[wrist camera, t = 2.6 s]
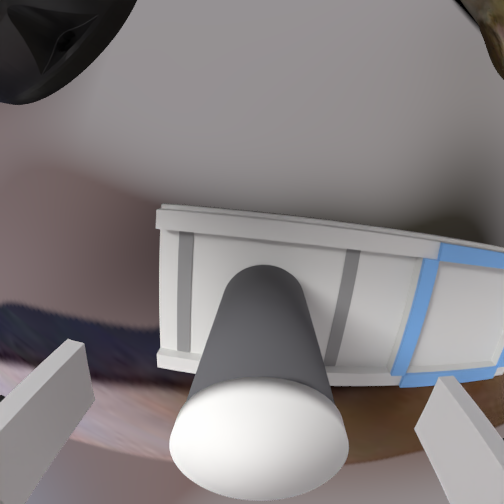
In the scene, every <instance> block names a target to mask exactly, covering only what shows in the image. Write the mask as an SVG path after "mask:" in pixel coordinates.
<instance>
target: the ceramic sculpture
mask: <svg viewBox="0 0 504 504" xmlns="http://www.w3.org/2000/svg"><path fill="white" fill-rule="evenodd" d="M460 1H461V2H462V3H463V5H464V6H465V7H466V9H467V10H468V11H469V13H470V14H471V15H472V17H473V18H474V19H475V21H476V22H477V23H478V25H479V27H480V31H481V34H482V36H483V39H484V41H485V44H486V48H487V50H488V53H489V56H490V59H491V61H492V63H493V65H494V67H495V69H496V70H497V72H498V73H499V75H500V76H501V77H502V78H503V79H504V0H460Z"/></svg>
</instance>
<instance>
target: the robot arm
mask: <svg viewBox="0 0 504 504" xmlns="http://www.w3.org/2000/svg"><path fill="white" fill-rule="evenodd" d="M136 1H137V0H0V102H2V103H7V104H13V105H23V104H29V103H33V102H36V101H38V100H41V99H43V98H46V97H47V96H49V95H51V94H53V93H55V92H56V91H58V90H59V89H61V88H63V87H64V86H65V85H67V84H68V83H69V82H71V81H72V80H73V79H74V78H76V77H77V76H78V75H79V74H80V73H82V72H83V71H84V70H85V69H86V68H87V67H88V66H89V65H90V64H91V63H92V62H93V61H94V60H95V59H96V58H97V57H98V56H99V55H100V54H101V53H102V52H103V51H104V49H105V48H106V47H107V46H108V45H109V43H110V42H111V41H112V40H113V38H114V37H115V36H116V34H117V33H118V32H119V30H120V29H121V27H122V26H123V24H124V23H125V21H126V20H127V18H128V16H129V15H130V13H131V11H132V9H133V7H134V5H135V3H136ZM94 401H95V397H94V393H93V388H92V383H91V378H90V373H89V368H88V363H87V357H86V351H85V345H84V343H81V342H77V341H73V340H70V339H67V340H66V341H65V342H64V343H63V344H62V345H61V346H60V347H58V348H57V349H56V350H55V351H54V352H53V353H52V354H51V355H50V356H49V357H47V358H46V359H45V360H44V361H43V362H42V363H41V364H40V365H39V366H38V367H37V368H36V369H34V370H33V371H32V372H31V373H30V374H29V375H28V376H27V377H26V378H25V379H24V380H23V381H22V382H21V383H20V384H19V385H18V386H17V387H16V388H14V389H13V390H12V391H11V392H10V393H9V394H8V395H7V396H6V397H4V396H2V395H0V504H25V503H26V502H27V500H28V499H29V497H30V495H31V494H32V492H33V491H34V489H35V488H36V486H37V485H38V483H39V482H40V480H41V478H42V477H43V475H44V474H45V472H46V471H47V469H48V468H49V466H50V465H51V463H52V462H53V460H54V459H55V457H56V456H57V454H58V453H59V451H60V450H61V449H62V447H63V446H64V444H65V443H66V441H67V440H68V438H69V437H70V435H71V434H72V432H73V431H74V430H75V428H76V427H77V425H78V424H79V422H80V421H81V420H82V418H83V417H84V415H85V414H86V412H87V411H88V410H89V408H90V407H91V405H92V404H93V402H94ZM414 430H415V432H416V434H417V436H418V438H419V440H420V442H421V444H422V446H423V448H424V450H425V452H426V454H427V456H428V458H429V460H430V462H431V464H432V467H433V469H434V471H435V473H436V475H437V477H438V479H439V481H440V483H441V486H442V488H443V490H444V492H445V495H446V497H447V499H448V501H449V504H504V438H503V439H502V438H501V436H500V435H499V433H498V432H497V431H496V429H495V428H494V427H493V425H492V424H491V423H490V421H489V420H488V419H487V417H486V416H485V415H484V413H483V412H482V411H481V410H480V408H479V407H478V406H477V404H476V403H475V402H474V401H473V399H472V398H471V397H470V395H469V394H468V393H467V392H466V390H465V389H464V388H463V387H462V386H461V384H460V383H459V382H458V381H457V379H456V378H455V377H454V376H443V377H438V379H437V382H436V384H435V386H434V389H433V391H432V393H431V395H430V398H429V400H428V402H427V404H426V406H425V408H424V410H423V412H422V414H421V416H420V418H419V420H418V422H417V424H416V426H415V428H414Z"/></svg>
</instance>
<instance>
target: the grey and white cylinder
mask: <svg viewBox="0 0 504 504" xmlns="http://www.w3.org/2000/svg"><path fill="white" fill-rule="evenodd" d="M348 451H349V443H348V438H347V434H346V431H345V427H344V423H343V420H342V416H341V414H340V412H339V410H338V408H337V407H336V406H335V403H334V399H333V395H332V391H331V388H330V384H329V380H328V376H327V373H326V369H325V365H324V362H323V358H322V355H321V351H320V347H319V344H318V340H317V337H316V333H315V330H314V326H313V323H312V319H311V316H310V312H309V309H308V306H307V302H306V299H305V296H304V292H303V289H302V287H301V285H300V283H299V282H298V281H297V279H296V278H295V277H294V276H293V275H292V274H290V273H289V272H287V271H286V270H284V269H282V268H280V267H277V266H273V265H255V266H251V267H248V268H245V269H243V270H241V271H240V272H238V273H237V274H236V275H235V276H234V277H233V278H232V279H231V280H230V281H229V283H228V284H227V286H226V288H225V290H224V293H223V296H222V299H221V302H220V305H219V308H218V310H217V313H216V316H215V319H214V322H213V325H212V328H211V331H210V334H209V336H208V339H207V342H206V345H205V348H204V351H203V354H202V357H201V360H200V363H199V366H198V368H197V371H196V374H195V377H194V380H193V383H192V386H191V389H190V392H189V395H188V398H187V401H186V403H185V404H184V405H183V407H182V408H181V410H180V412H179V414H178V416H177V419H176V422H175V425H174V428H173V431H172V433H171V437H170V452H171V456H172V458H173V460H174V462H175V464H176V465H177V467H178V468H179V469H180V470H181V472H182V473H183V474H184V475H186V476H187V477H188V478H189V479H190V480H192V481H193V482H195V483H196V484H198V485H199V486H201V487H203V488H205V489H207V490H209V491H212V492H214V493H217V494H220V495H223V496H227V497H231V498H236V499H243V500H252V501H269V500H280V499H286V498H291V497H295V496H298V495H301V494H304V493H307V492H309V491H312V490H314V489H316V488H318V487H319V486H321V485H323V484H324V483H326V482H327V481H329V480H330V479H331V478H332V477H334V476H335V475H336V474H337V473H338V471H339V470H340V469H341V468H342V466H343V465H344V463H345V461H346V458H347V456H348Z"/></svg>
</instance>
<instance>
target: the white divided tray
mask: <svg viewBox="0 0 504 504" xmlns="http://www.w3.org/2000/svg"><path fill="white" fill-rule="evenodd" d="M156 229H160V263H159V305H160V306H159V308H160V309H159V311H160V345H161V348H160V349H159V351H158V353H157V366H158V367H160V368H165V369H171V370H176V371H182V372H188V373H195V374H196V371H197V368H198V366H199V363H200V360H201V357H202V354H203V351H204V348H205V345H206V342H207V339H208V336H209V334H210V331H211V328H212V325H213V322H214V319H215V316H216V313H217V310H218V308H219V305H220V302H221V299H222V296H223V293H224V290H225V288H226V286H227V284H228V283H229V281H230V280H231V279H232V278H233V277H234V276H235V275H236V274H237V273H238V272H240V271H241V270H243V269H245V268H248V267H251V266H255V265H273V266H277V267H280V268H282V269H284V270H286V271H287V272H289V273H290V274H292V275H293V276H294V277H295V278H296V279H297V281H298V282H299V283H300V285H301V287H302V289H303V292H304V296H305V299H306V302H307V306H308V309H309V312H310V316H311V319H312V323H313V326H314V330H315V333H316V337H317V340H318V344H319V347H320V351H321V355H322V358H323V362H324V365H325V369H326V373H327V376H328V380H329V384H330V386H390V385H399V387H400V388H406V387H422V386H435V384H436V382H437V379H438V377H443V376H454V377H455V378H456V379H457V381H458V382H459V383H464V382H471V381H479V380H486V379H492V378H493V377H494V376H497V375H502V374H503V372H504V247H501V246H496V245H490V244H485V243H479V242H474V241H468V240H462V239H457V238H450V237H445V236H439V235H432V234H426V233H420V232H413V231H407V230H399V229H393V228H386V227H380V226H372V225H365V224H358V223H350V222H343V221H335V220H327V219H319V218H311V217H302V216H294V215H285V214H276V213H265V212H257V211H247V210H237V209H226V208H215V207H204V206H192V205H180V204H167V203H164V204H162V205H161V208H160V209H157V210H156Z"/></svg>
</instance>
